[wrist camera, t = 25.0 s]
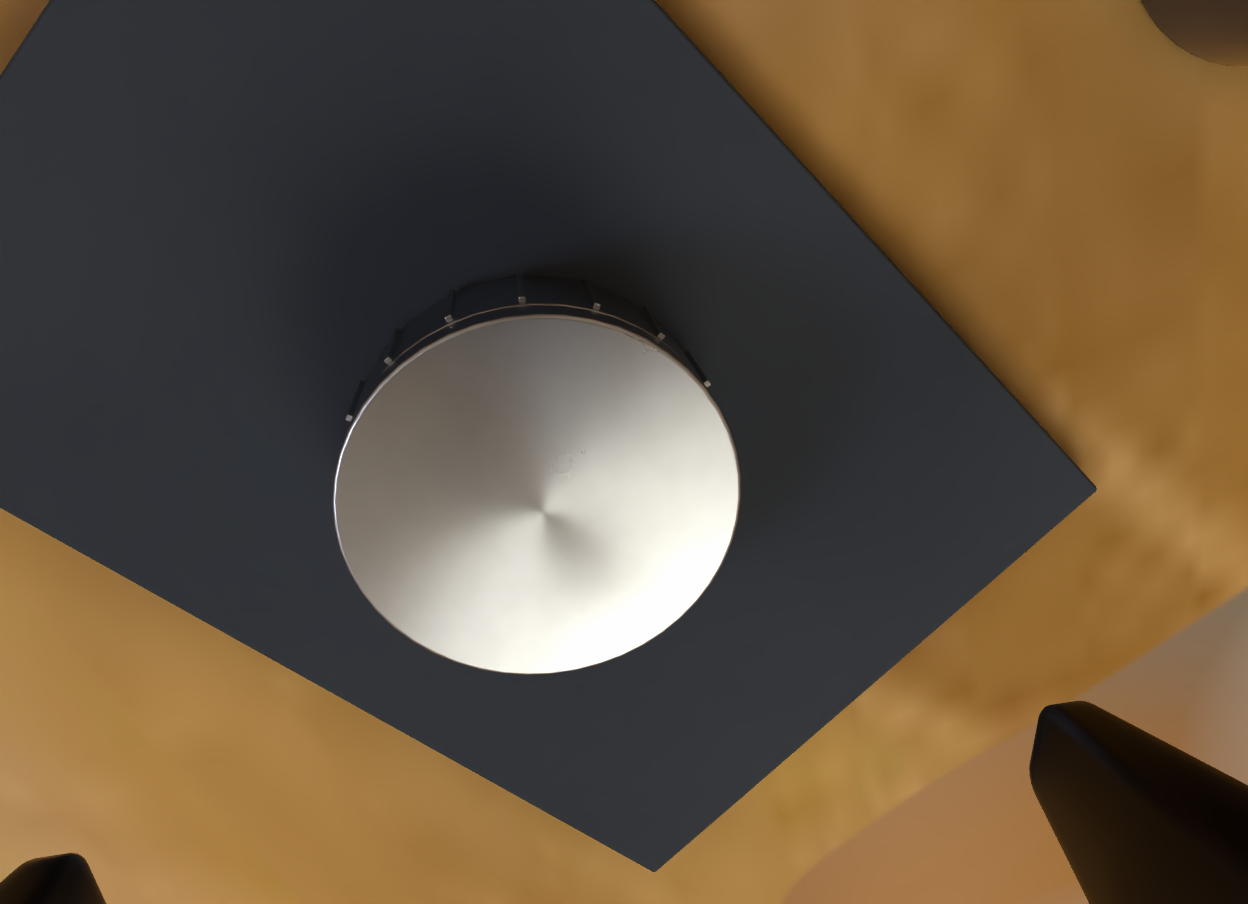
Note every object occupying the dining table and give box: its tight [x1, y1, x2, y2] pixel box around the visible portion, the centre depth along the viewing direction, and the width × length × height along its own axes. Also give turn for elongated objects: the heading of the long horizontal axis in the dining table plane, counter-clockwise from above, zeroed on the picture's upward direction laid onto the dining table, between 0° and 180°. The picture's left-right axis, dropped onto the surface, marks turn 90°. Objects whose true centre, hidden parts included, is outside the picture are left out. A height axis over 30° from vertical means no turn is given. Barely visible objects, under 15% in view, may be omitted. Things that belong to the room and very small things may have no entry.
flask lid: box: [332, 273, 741, 675], centre depth 15 cm, size 7×7×2 cm
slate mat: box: [0, 0, 1097, 872], centre depth 17 cm, size 20×14×1 cm
